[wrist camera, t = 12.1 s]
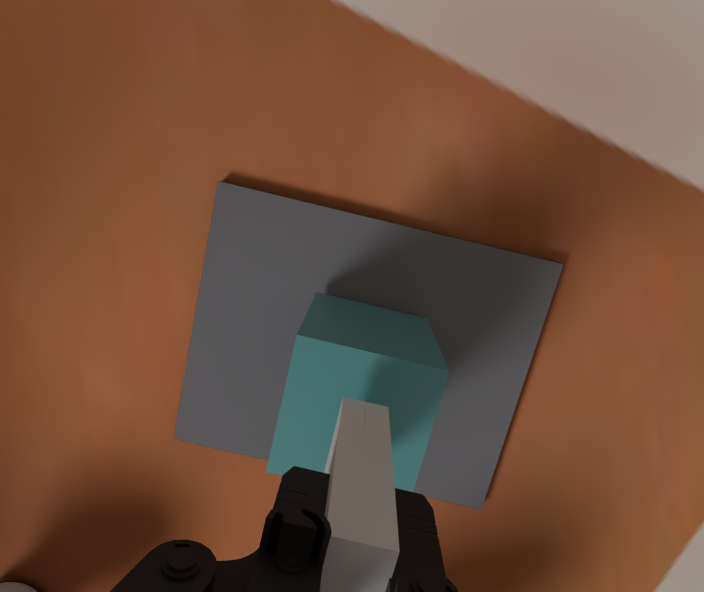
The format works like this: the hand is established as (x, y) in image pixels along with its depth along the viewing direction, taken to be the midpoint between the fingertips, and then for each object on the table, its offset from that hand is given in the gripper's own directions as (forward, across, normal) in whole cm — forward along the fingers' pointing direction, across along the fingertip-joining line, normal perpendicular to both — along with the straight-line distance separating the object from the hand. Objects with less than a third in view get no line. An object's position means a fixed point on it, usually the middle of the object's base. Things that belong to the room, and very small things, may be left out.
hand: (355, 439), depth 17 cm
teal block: (+8, 0, 0) cm, 8 cm away
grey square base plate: (+9, 0, 0) cm, 9 cm away
